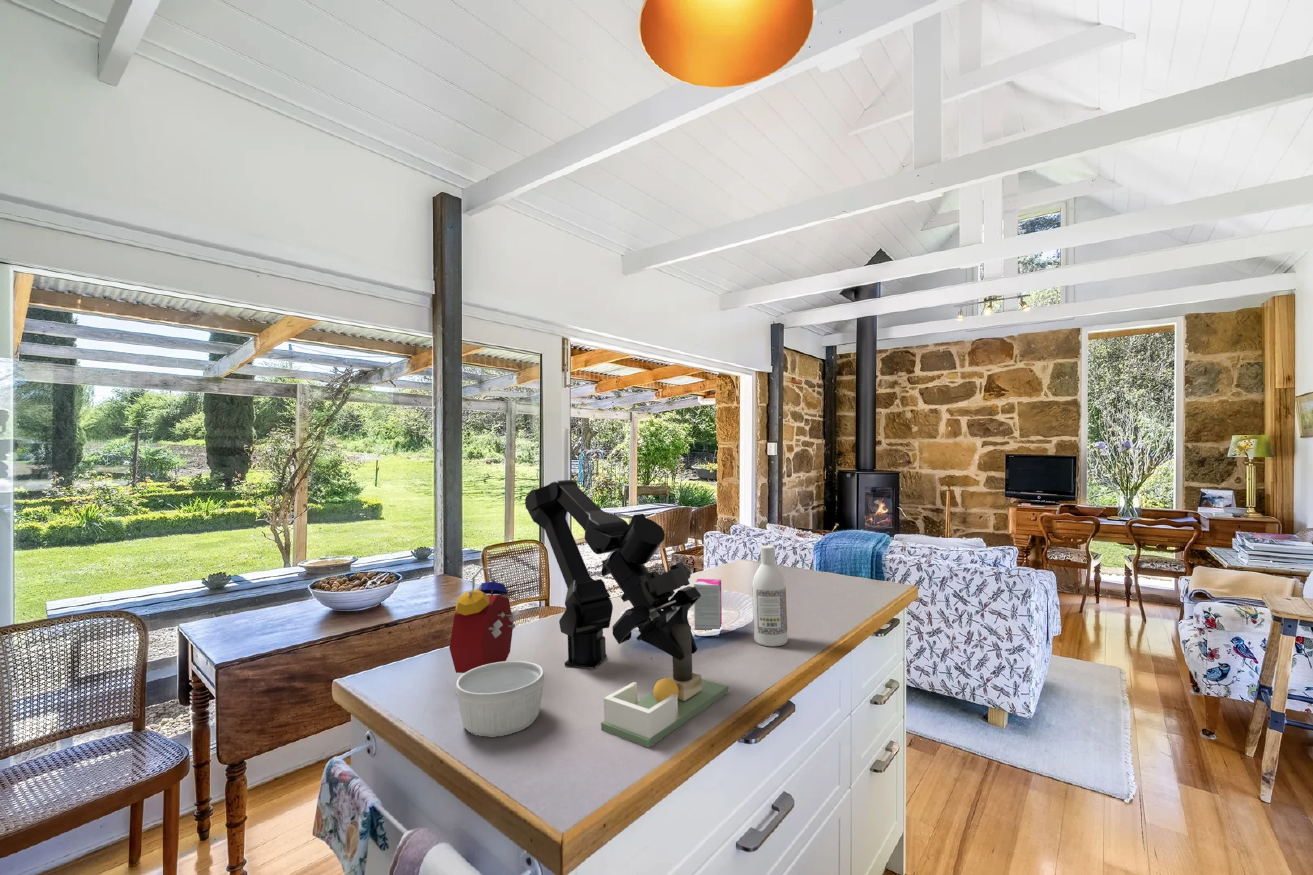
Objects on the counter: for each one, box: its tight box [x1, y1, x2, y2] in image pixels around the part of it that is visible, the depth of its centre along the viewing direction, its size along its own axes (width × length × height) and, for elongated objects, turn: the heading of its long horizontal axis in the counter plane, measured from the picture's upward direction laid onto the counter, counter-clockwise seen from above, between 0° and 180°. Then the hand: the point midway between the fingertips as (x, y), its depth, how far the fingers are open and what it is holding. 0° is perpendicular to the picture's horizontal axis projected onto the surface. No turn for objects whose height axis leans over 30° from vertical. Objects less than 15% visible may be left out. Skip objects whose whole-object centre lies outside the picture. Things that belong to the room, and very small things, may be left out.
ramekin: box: [455, 660, 545, 737], centre depth 87 cm, size 13×13×7 cm
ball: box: [652, 677, 679, 703], centre depth 88 cm, size 4×4×4 cm
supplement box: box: [693, 578, 723, 631], centre depth 125 cm, size 6×6×12 cm
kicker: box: [667, 624, 703, 701], centre depth 92 cm, size 4×5×11 cm
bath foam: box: [751, 545, 789, 647], centre depth 118 cm, size 7×7×20 cm
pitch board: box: [600, 678, 729, 749], centre depth 88 cm, size 9×22×1 cm, turn 142°
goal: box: [603, 681, 678, 739], centre depth 83 cm, size 9×7×4 cm
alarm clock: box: [449, 567, 521, 674], centre depth 105 cm, size 15×9×20 cm, turn 173°
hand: (689, 655), depth 91 cm, fingers closed on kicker, 3 cm apart
